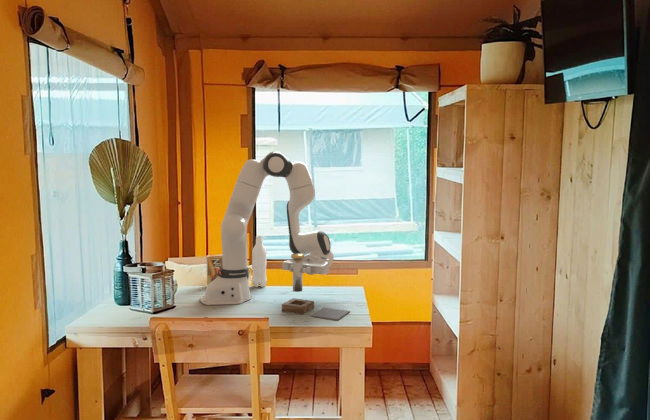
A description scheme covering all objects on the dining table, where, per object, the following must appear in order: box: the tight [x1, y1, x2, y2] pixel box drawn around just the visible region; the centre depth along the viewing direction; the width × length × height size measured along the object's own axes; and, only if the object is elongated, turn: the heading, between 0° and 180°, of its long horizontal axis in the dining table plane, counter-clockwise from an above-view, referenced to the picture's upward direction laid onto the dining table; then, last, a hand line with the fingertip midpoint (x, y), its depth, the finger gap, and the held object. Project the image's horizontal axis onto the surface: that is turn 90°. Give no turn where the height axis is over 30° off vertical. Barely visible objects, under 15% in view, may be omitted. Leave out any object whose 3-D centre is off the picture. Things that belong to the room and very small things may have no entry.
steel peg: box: [290, 253, 306, 293], centre depth 218 cm, size 6×6×15 cm
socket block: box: [281, 297, 315, 315], centre depth 220 cm, size 10×10×3 cm
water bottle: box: [251, 235, 268, 288], centre depth 256 cm, size 7×7×25 cm
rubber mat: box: [310, 306, 351, 322], centre depth 213 cm, size 12×12×1 cm
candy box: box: [206, 254, 223, 286], centre depth 257 cm, size 9×4×15 cm, turn 111°
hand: (296, 270), depth 217 cm, fingers closed on steel peg, 4 cm apart
